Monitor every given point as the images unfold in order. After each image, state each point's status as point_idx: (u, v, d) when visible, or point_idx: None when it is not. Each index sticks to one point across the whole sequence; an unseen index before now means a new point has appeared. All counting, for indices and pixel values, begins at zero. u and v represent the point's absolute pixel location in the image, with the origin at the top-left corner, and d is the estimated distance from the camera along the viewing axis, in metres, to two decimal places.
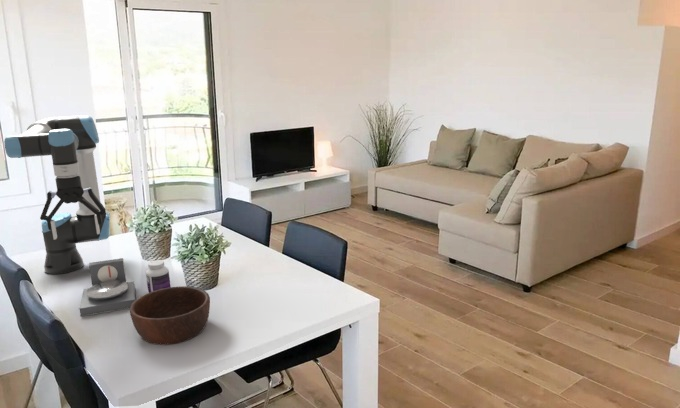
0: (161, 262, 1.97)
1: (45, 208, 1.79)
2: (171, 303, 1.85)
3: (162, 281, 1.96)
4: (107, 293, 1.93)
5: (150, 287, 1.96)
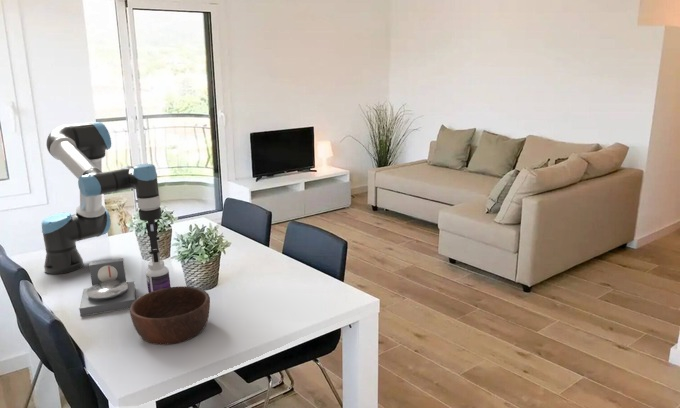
0: (161, 262, 1.97)
1: None
2: (171, 303, 1.85)
3: (162, 281, 1.96)
4: (107, 293, 1.93)
5: (150, 287, 1.96)
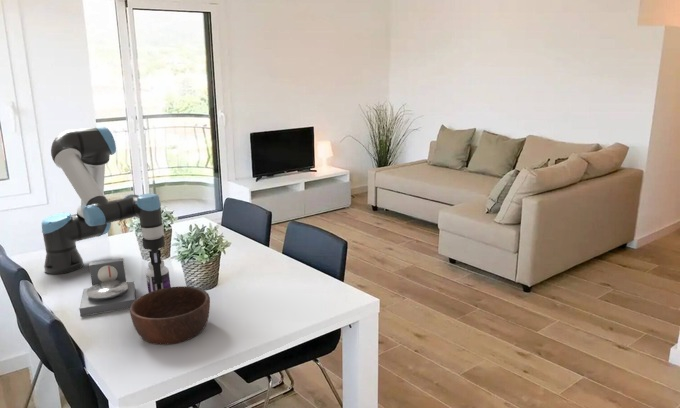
0: (161, 262, 1.97)
1: None
2: (171, 303, 1.85)
3: None
4: (107, 293, 1.93)
5: (150, 287, 1.96)
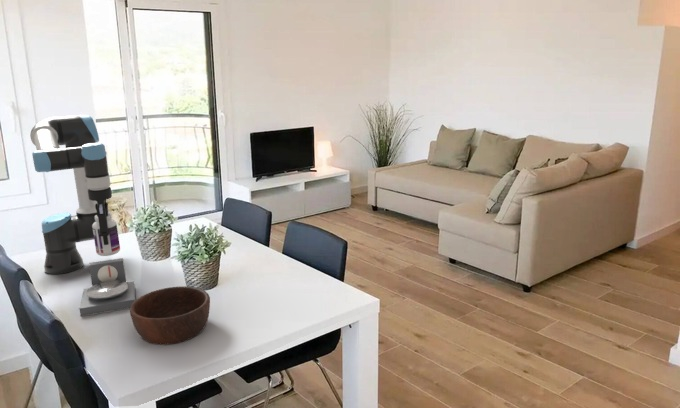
0: (108, 215, 1.91)
1: None
2: (171, 303, 1.85)
3: (109, 234, 1.90)
4: (107, 293, 1.93)
5: (96, 240, 1.90)
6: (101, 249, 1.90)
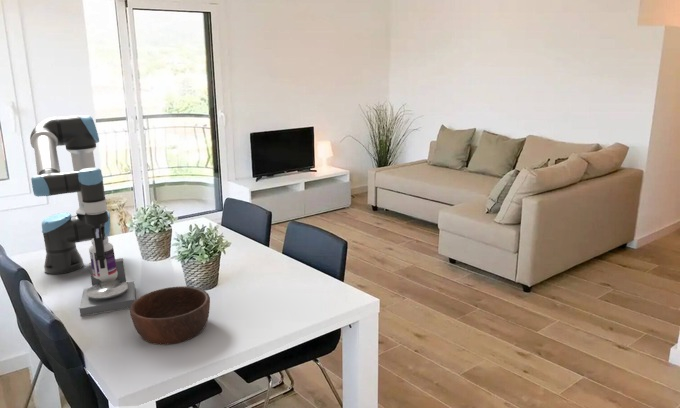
0: (105, 238, 1.93)
1: None
2: (171, 303, 1.85)
3: None
4: (107, 293, 1.93)
5: (93, 264, 1.92)
6: (98, 272, 1.92)
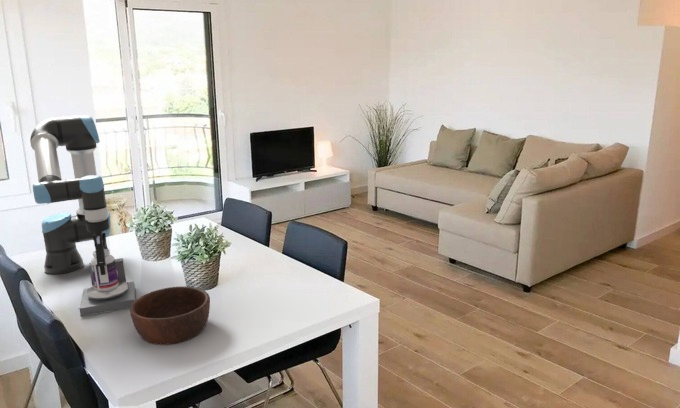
0: (106, 251, 1.94)
1: None
2: (171, 303, 1.85)
3: (107, 270, 1.93)
4: (107, 293, 1.93)
5: (95, 276, 1.93)
6: (99, 285, 1.93)
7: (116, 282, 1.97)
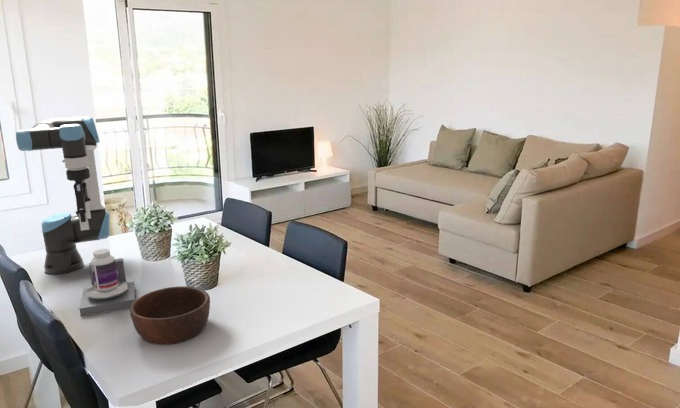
0: (106, 251, 1.94)
1: None
2: (171, 303, 1.85)
3: (107, 270, 1.93)
4: (107, 293, 1.93)
5: (95, 276, 1.93)
6: (99, 285, 1.93)
7: (116, 282, 1.97)
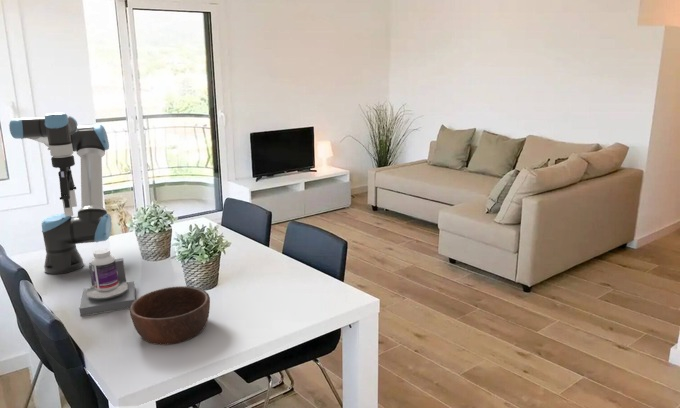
0: (107, 251, 1.94)
1: None
2: (171, 303, 1.85)
3: (107, 270, 1.93)
4: (107, 293, 1.93)
5: (95, 276, 1.93)
6: (99, 285, 1.93)
7: (116, 282, 1.97)
